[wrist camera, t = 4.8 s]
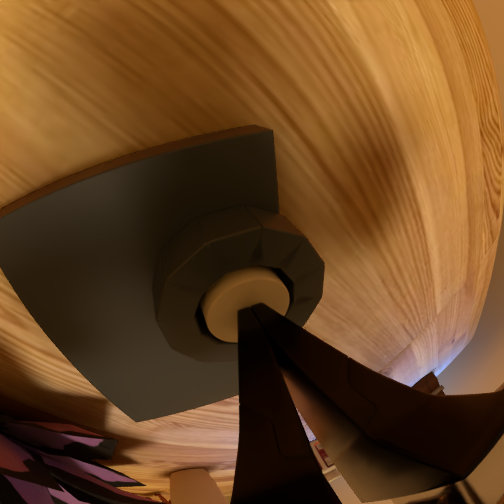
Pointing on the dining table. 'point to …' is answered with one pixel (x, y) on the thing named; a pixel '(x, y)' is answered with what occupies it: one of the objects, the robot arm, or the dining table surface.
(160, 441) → the dining table surface
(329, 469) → the pill bottle
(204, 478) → the cup
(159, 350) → the dark flat slab piece
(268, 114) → the dining table surface
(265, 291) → the button
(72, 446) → the decorative flower
